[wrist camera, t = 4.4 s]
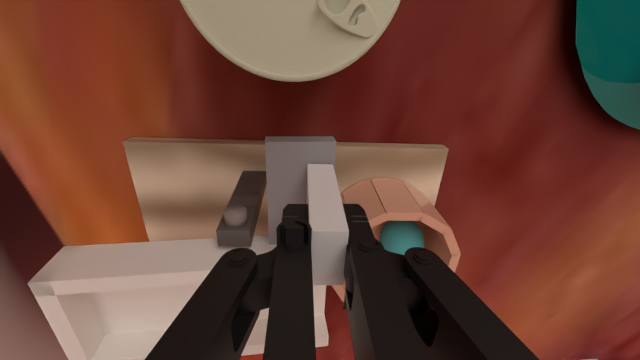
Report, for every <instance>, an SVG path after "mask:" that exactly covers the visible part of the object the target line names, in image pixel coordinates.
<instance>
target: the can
mask: <svg viewBox="0 0 640 360" xmlns="http://www.w3.org/2000/svg"><path fill="white" fill-rule="evenodd" d="M400 1H401V0H180V2H181V4H182V6H183V8H184V10H185V11H186V13H187V15H188V16H189V18H190V19H191V21H192V22H193V24H194V25H195V27H196V28H197V29H198V30H199V32H200V33H201V34H202V35H203V37H204V38H205V39H206V40H207V41H208V42H209V43H210V44H211V45H212V46H213V47H214V48H215V49H216V50H217V51H218V52H219V53H221V54H222V55H223V56H224V57H226V58H227V59H228V60H230V61H231V62H233V63H234V64H236V65H238V66H239V67H241V68H243V69H245V70H247V71H249V72H251V73H253V74H256V75H258V76H261V77H265V78H268V79H272V80H277V81H285V82H303V81H311V80H316V79H320V78H324V77H327V76H329V75H332V74H334V73H337V72H339V71H341V70H342V69H344V68H346V67H348V66H349V65H351V64H352V63H354V62H355V61H356V60H358V59H359V58H360V57H361V56H363V55H364V54H365V53H366V52H367V51H368V50H369V49H370V48H371V47H372V46H373V45H374V44H375V43H376V41H377V40H378V39H379V38H380V36H381V35H382V34H383V32H384V31H385V29H386V28H387V26H388V25H389V23H390V21H391V20H392V18H393V16H394V14H395V12H396V10H397V8H398V6H399V3H400Z"/></svg>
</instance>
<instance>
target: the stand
mask: <svg viewBox="0 0 640 360" xmlns="http://www.w3.org/2000/svg"><path fill="white" fill-rule="evenodd" d="M122 142H123V146H124V149H125V153H126V157H127V161H128V164H129V168H130V172H131V176H132V179H133V183H134V187H135V190H136V194H137V198H138V202H139V205H140V209H141V213H142V217H143V220H144V224H145V228H146V232H147V235H148V239H149V242H154V241H172V240H190V239H209V238H217V242H218V246H251V244H252V240H253V236H264V235H269V228H268V204H267V180H266V156H265V140H232V139H191V138H150V137H129V138H128V139H126V140H124V141H122ZM448 150H449V149H448V148H447V147H445V146H444V145H437V144H396V143H355V142H336V156H335V170H334V171H335V175H336V179H337V183H338V187H339V192H340V193H341V192H342V191H344V190H345V189H346V188H348V187H349V186H351V185H353V184H355V183H357V182H359V181H362V180H365V179H369V178H375V177H392V178H396V179H400V180H403V181H405V182H407V183H409V184H411V185H412V186H414V187H415V188H416V189H417V190H419V191H420V192H422V193H424V195H425V196H426V197H427V198H428V200H429V201H430V202H431V204H432V205H433V206H435V202H436V198H437V194H438V190H439V186H440V182H441V178H442V174H443V170H444V166H445V162H446V158H447V154H448Z"/></svg>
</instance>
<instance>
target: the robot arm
mask: <svg viewBox="0 0 640 360" xmlns="http://www.w3.org/2000/svg"><path fill="white" fill-rule="evenodd" d="M276 232H277V246H276V247H275V248H274V249H273V250H271V251H269V252H267V253H264V254H259V255H256V253H255V252H254V251H253V250H251V249H248V248H236V249H232V250H230V251H228V252H226V253H225V254H224V255H223V256H221V258H220V259H219V260H218V262H217V263H216V264H215V266H214V267H213V268H212V270H211V271H210V272H209V274H208V275H207V277H206V278H205V279H204V281H203V282H202V283H201V285H200V286H199V287H198V289H197V290H196V291H195V293H194V294H193V295H192V297H191V298H190V299H189V301H188V302H187V303H186V305H185V306H184V307H183V309H182V310H181V311H180V313H179V314H178V315H177V317H176V318H175V319H174V321H173V322H172V323H171V325H170V326H169V327H168V329H167V330H166V331H165V333H164V334H163V336H162V337H161V338H160V340H159V341H158V342H157V344H156V345H155V346H154V348H153V349H152V350H151V352H150V353H149V354H148V356H147V357H146V358H145V360H239V359H240V357H241V355H242V352H243V350H244V348H245V346H246V343H247V341H248V339H249V337H250V334H251V332H252V330H253V328H254V325H255V323H256V321H257V319H258V316H259V314H260V310H263V309H267V308H269V313H268V321H267V329H266V337H265V345H264V353H263V360H316V348H315V324H314V300H313V285H343V284H344V278H345V284H346V287H345V296H344V306H343V309H346V306H347V313H348V319H349V325H350V332H351V338H352V344H353V350H354V357H355V360H539V359H538V358H537V357H536V356H535V355H534V354H533V353H532V352H531V351H530V350H529V349H528V348H527V347H526V346H525V345H524V343H523V342H522V341H521V340H520V339H519V338H518V337H517V336H516V335H515V334H514V333H513V332H512V331H511V330H510V329H509V328H508V327H507V326H506V325H505V324H504V323H503V322H502V321H501V320H500V319H499V318H498V317H497V316H496V315H495V314H494V313H493V312H492V311H491V310H490V309H489V308H488V307H487V306H486V305H485V304H484V302H483V301H482V300H481V299H480V298H479V297H478V296H477V295H476V294H475V293H474V292H473V291H472V290H471V289H470V288H469V287H468V286H467V285H466V284H465V283H464V282H463V281H462V280H461V279H460V278H459V277H458V276H457V275H456V274H455V273H454V272H453V271H452V270H451V269H450V268H449V267H448V266H447V265H446V264H445V263H444V261H443V260H442V259H441V258H440V257H439V256H438V255H436V254H435V253H434V252H432V251H430V250H428V249H426V248H421V247H412V248H409V249H407V251H406V252H405V255H402V254H397V253H393V252H390V251H387V250H385V249H384V246H383V245H382V243H381V242H380V241H378V240H377V239H375V237H374V235H373V232H372V229H371V226H370V223H369V222H368V218H367V215H366V212H365V210H364V208H362V207H361V206H360V205H359V204H342V200H341V196H340V192H339V187H338V183H337V179H336V175H335V171H334V167H333V164H307V202H306V204H287V205H286V206H285V208H284V209H283V214H282V222H281V223H280V224H279V225H278V226H277V228H276Z"/></svg>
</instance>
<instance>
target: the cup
mask: <svg viewBox="0 0 640 360" xmlns="http://www.w3.org/2000/svg"><path fill="white" fill-rule="evenodd" d="M340 196H341V200H342V204H359V205H360V206H361V207H362V208H364V210H365V212H366V215H367V218H368V222H369V223H370V226H371V229H372V232H373V235H374V237H375V239H377V240H378V241H379V235H380V231H381V229H382V228H383V226H384V225H385V224H386V223H387V222H389V221H412V222H414V223H415V224H417V225H418V226H419V228H420V229H421V231H422V233H423V235H424V241H425V243H424V248H426V249H428V250H430V251H432V252H434V253H435V254H436V255H438V256H439V257H440V258H441V259H442V260H443V261H444V263H445V264H446V265H447V266H448V267H449V268H450V269H451V270H452V271H453V272H454V273H455V270H456V267H457V264H458V261H459V258H460V255H461V253H460V250H459V247H458V245H457V242H456V240H455V237H454V234H453V232H452V229H451V228H450V227H449V225H448V224H447V223H446V221H445V220H444V219H443V218H442V216H441V215H440V214H439V212H438V211H437V210H436V209H435V207H434V206H433V205H432V204H431V202H430V201H429V200H428V198H427V197H426V196H425V195H424V193H422V192H420V191H419V190H417V189H416V188H415V187H414V186H412V185H411V184H409V183H407V182H405V181H403V180H400V179H396V178H392V177H375V178H369V179H365V180H362V181H359V182H357V183H355V184H353V185H351V186H349V187H348V188H346V189H345V190H344V191H342V192H341V193H340ZM331 286H332V287H333V288H334V290H335V291H336V293H337V294H338V296H339V297H340V298H341V300H342V301H343V302H344V296H345V287H346V284H345V278H344V284H343V285H331Z"/></svg>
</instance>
